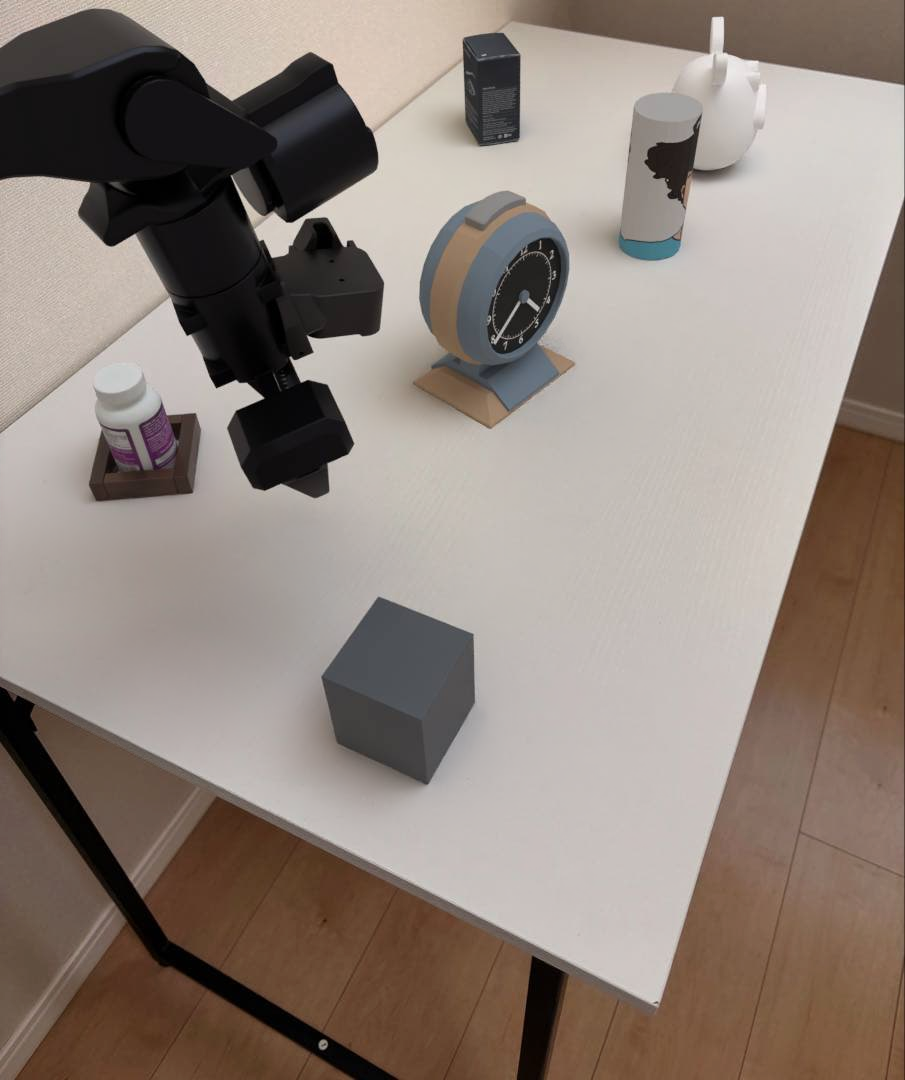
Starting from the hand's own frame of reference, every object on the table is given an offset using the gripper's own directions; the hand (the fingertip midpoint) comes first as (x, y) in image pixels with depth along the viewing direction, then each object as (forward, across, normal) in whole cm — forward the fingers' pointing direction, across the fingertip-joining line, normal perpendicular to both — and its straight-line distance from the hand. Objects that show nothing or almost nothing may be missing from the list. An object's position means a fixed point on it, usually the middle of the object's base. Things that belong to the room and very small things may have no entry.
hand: (302, 447), depth 64 cm
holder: (+12, +18, +13) cm, 25 cm away
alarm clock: (+18, +17, -19) cm, 31 cm away
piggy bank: (+27, +44, -58) cm, 78 cm away
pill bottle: (+12, +18, +13) cm, 25 cm away
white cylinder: (+24, +31, -43) cm, 58 cm away
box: (+24, +64, -38) cm, 78 cm away
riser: (+12, -16, +1) cm, 20 cm away
